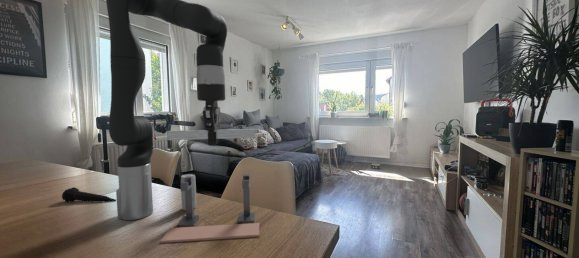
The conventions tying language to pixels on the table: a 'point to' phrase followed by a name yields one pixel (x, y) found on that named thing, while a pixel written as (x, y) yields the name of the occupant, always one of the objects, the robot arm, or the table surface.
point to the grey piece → (184, 191)
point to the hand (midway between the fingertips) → (213, 144)
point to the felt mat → (211, 232)
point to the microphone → (83, 196)
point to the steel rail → (204, 134)
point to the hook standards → (192, 219)
